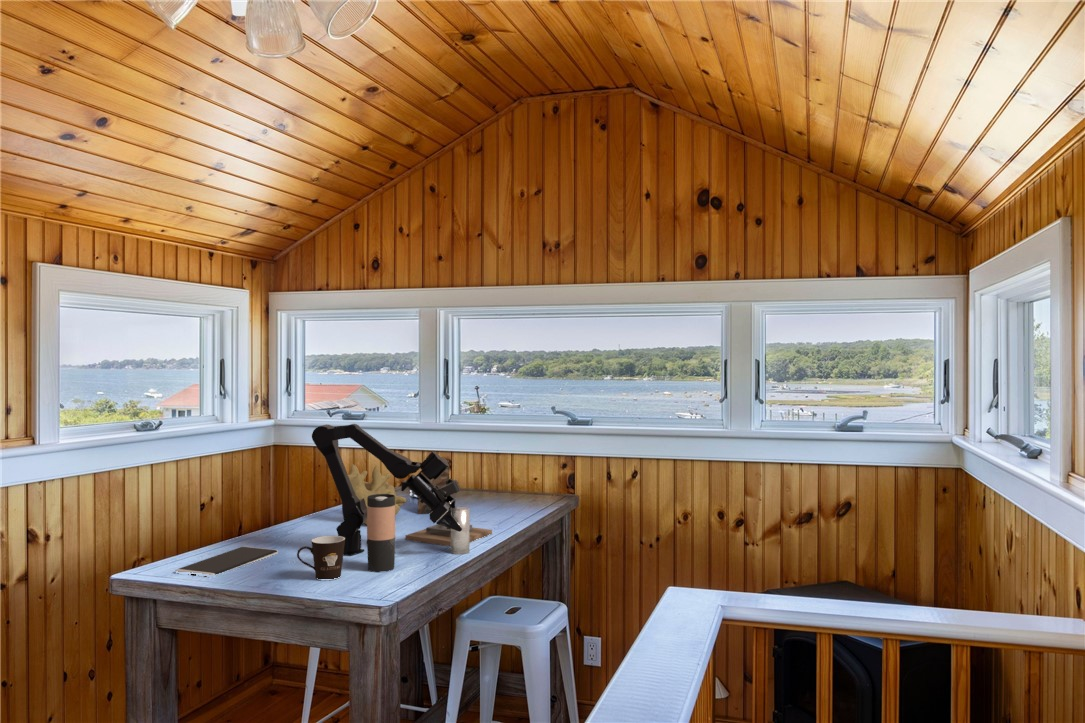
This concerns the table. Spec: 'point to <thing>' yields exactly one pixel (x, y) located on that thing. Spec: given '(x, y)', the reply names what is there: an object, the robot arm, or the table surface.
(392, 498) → the travel mug
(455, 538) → the steel cup
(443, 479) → the brown carved rock
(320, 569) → the coffee mug
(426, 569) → the table surface
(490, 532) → the brown flat square board
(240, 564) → the dark rectangular slab
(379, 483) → the decorative coral
